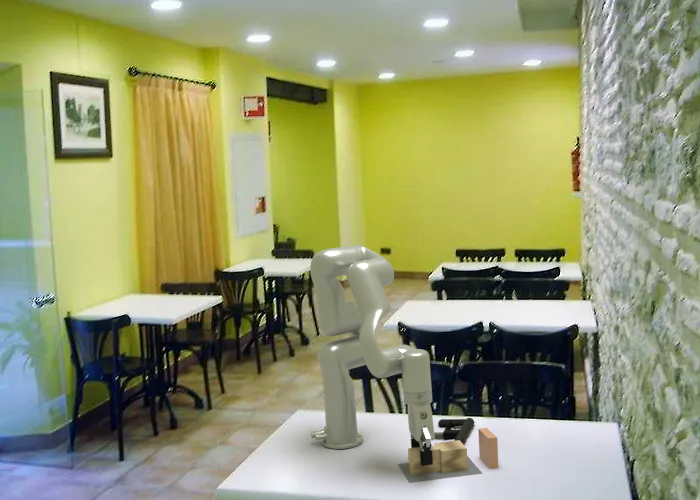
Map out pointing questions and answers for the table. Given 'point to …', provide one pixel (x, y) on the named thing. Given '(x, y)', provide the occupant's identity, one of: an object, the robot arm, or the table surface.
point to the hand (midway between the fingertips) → (422, 458)
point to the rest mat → (438, 473)
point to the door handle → (455, 434)
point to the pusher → (440, 458)
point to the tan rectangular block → (488, 448)
